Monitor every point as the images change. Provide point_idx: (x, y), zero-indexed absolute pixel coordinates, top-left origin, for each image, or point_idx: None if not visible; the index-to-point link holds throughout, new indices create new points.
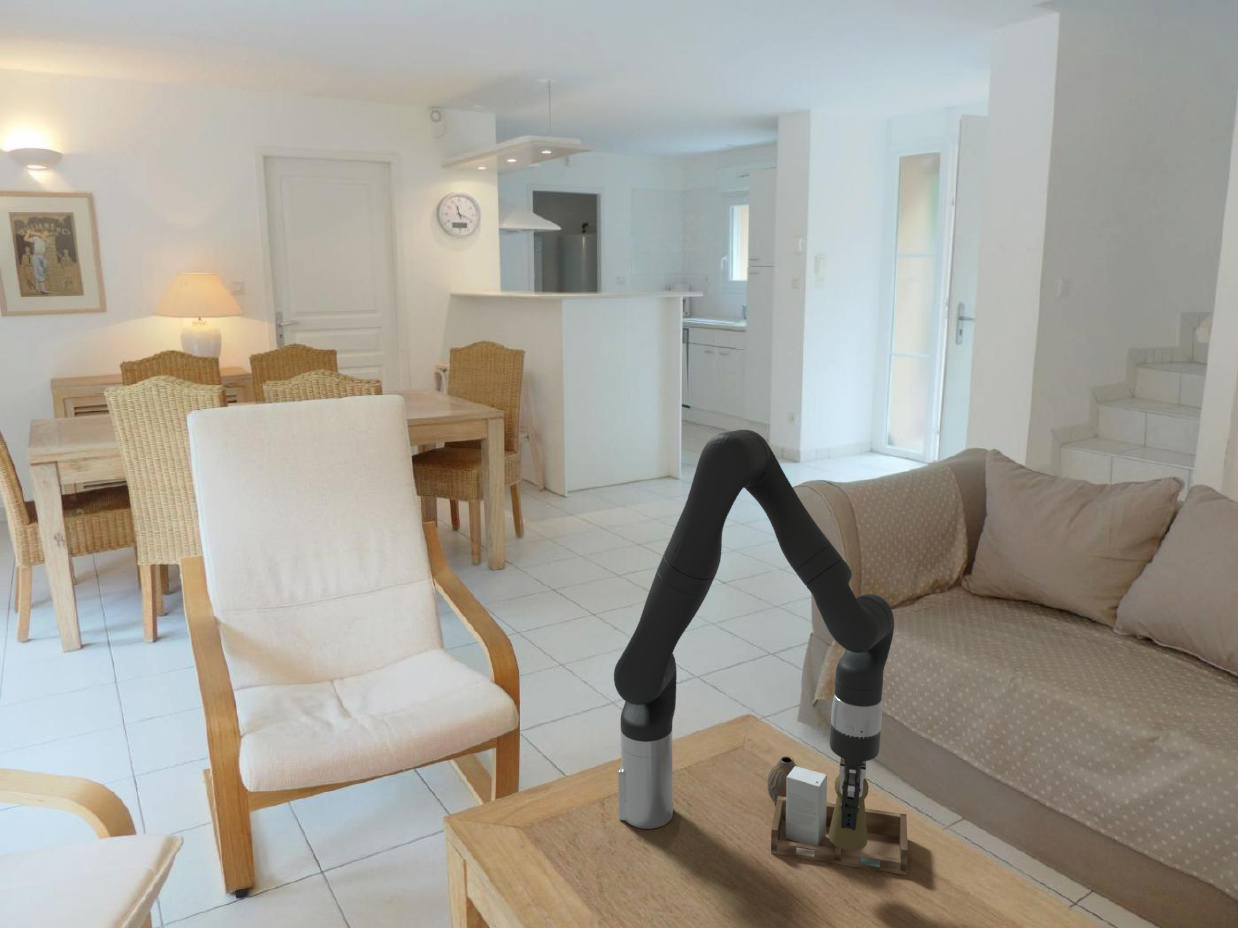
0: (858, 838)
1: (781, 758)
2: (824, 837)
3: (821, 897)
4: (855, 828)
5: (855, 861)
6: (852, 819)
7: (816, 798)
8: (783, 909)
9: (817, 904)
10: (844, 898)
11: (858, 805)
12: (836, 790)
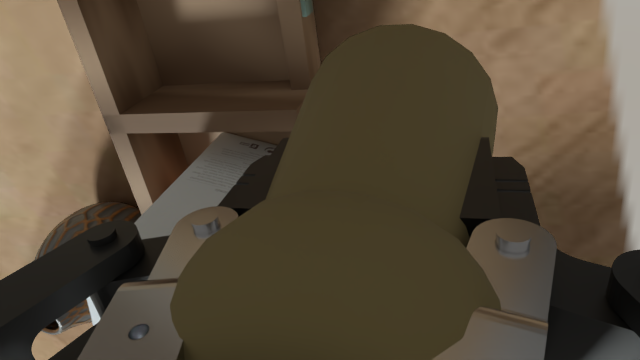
0: (475, 89)
1: (48, 331)
2: (233, 135)
3: (504, 116)
4: (488, 139)
5: (310, 31)
6: (533, 208)
7: None
8: (583, 212)
9: (542, 125)
10: (494, 44)
11: (512, 244)
12: None
